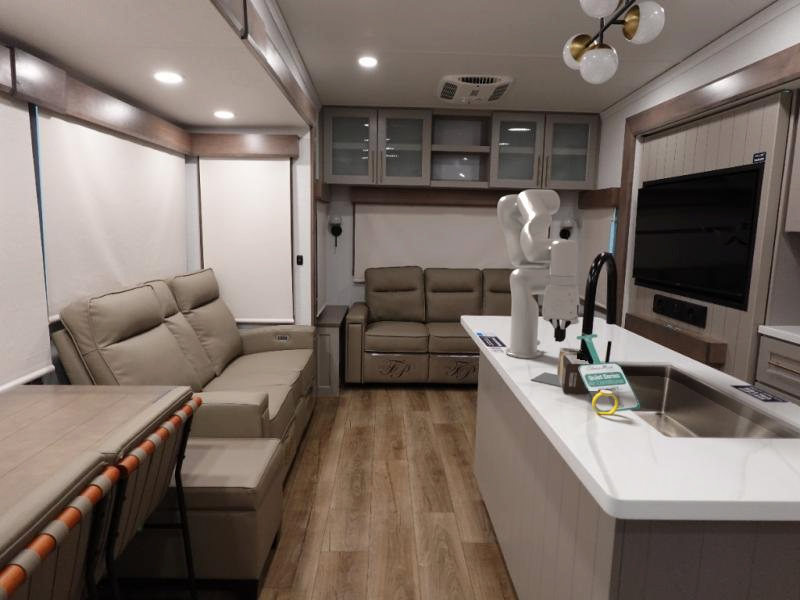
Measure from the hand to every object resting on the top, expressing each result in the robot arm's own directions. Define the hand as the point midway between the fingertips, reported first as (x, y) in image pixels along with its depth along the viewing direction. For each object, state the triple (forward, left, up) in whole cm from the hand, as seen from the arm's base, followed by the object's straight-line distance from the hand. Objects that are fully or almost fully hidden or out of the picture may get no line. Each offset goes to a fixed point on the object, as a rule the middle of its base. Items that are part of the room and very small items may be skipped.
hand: (559, 340), depth 151 cm
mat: (+3, 0, -12) cm, 12 cm away
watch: (+21, +21, -12) cm, 32 cm away
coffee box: (-2, +2, -7) cm, 7 cm away
